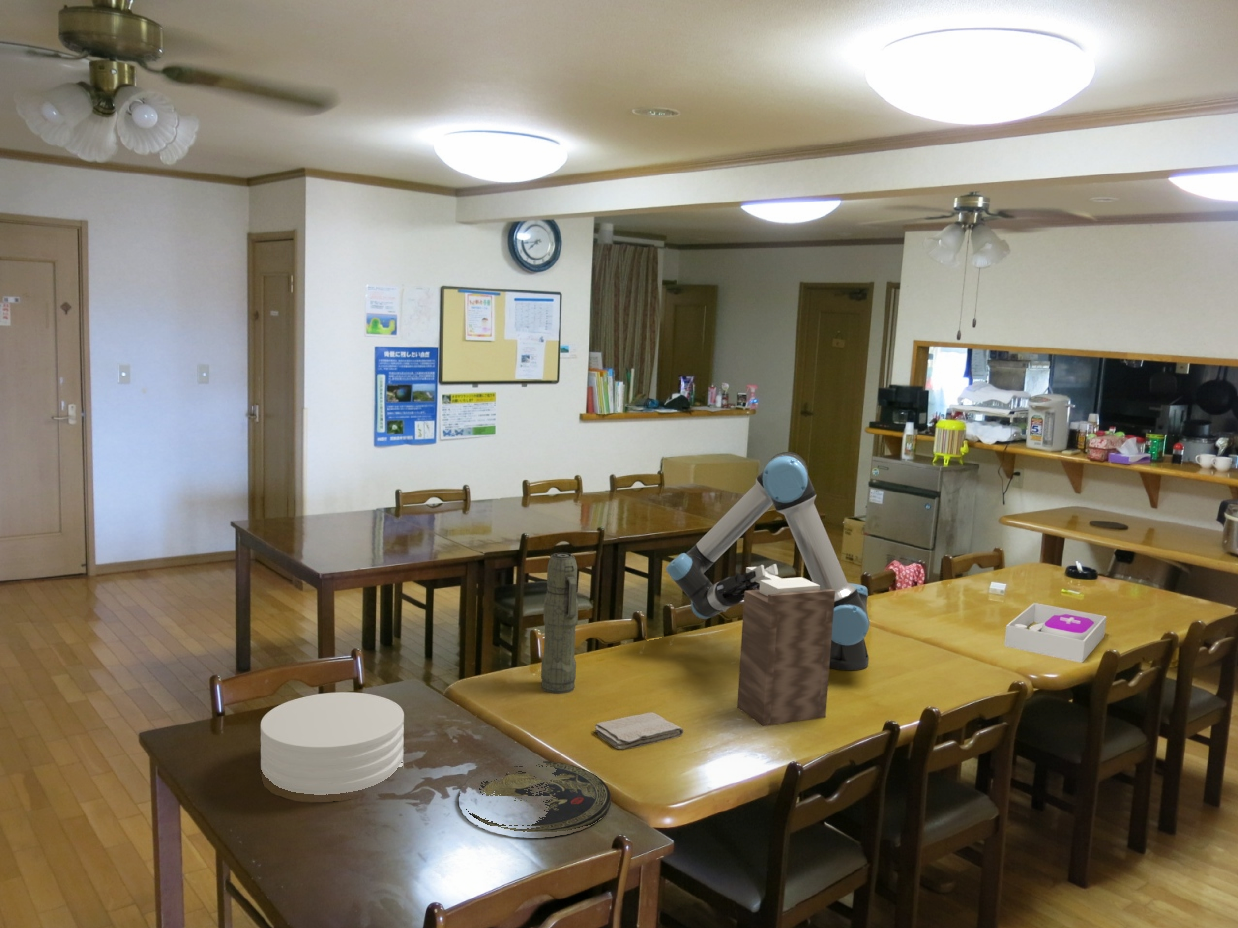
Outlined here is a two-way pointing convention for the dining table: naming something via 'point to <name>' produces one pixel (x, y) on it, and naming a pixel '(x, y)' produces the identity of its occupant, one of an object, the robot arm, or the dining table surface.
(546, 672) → the thermos
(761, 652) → the walnut stand
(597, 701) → the dining table surface
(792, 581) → the beige stepped block
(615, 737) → the washcloth
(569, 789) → the decorative plate
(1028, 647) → the white open tray
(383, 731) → the plate stack
